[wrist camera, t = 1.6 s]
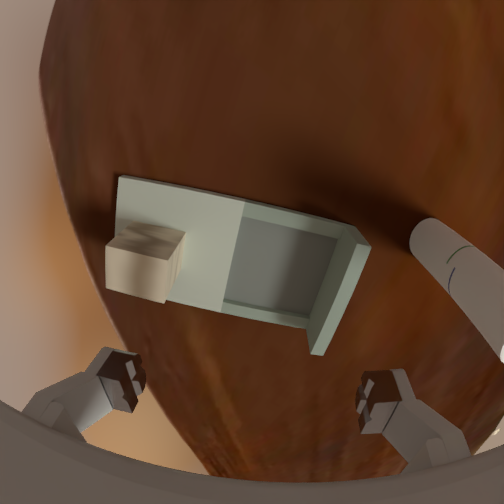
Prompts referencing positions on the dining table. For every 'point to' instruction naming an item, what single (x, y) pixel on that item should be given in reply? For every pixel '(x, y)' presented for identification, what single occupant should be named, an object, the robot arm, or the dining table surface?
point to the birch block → (144, 260)
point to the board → (252, 255)
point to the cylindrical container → (464, 277)
